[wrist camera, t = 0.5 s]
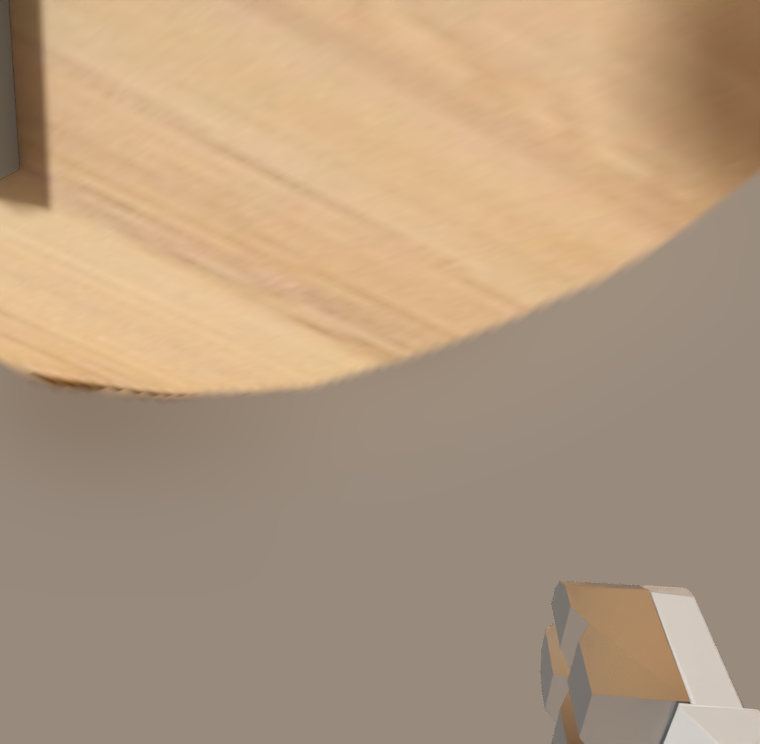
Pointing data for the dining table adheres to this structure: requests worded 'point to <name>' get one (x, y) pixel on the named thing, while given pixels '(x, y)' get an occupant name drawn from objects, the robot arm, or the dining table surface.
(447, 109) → the dining table surface
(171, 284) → the dining table surface
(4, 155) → the button board
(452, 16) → the dining table surface
